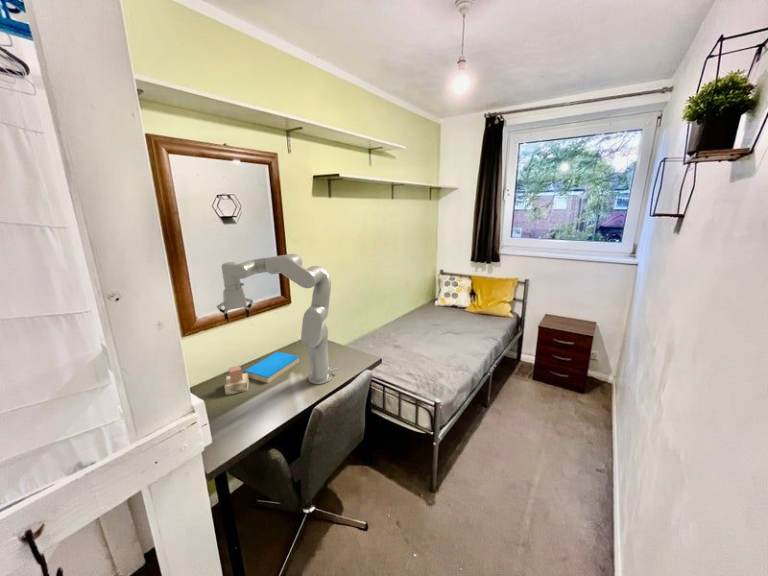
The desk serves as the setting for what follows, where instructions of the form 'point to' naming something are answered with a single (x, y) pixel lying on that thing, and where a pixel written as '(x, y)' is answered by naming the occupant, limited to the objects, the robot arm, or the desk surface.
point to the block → (235, 373)
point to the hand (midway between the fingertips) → (237, 318)
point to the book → (272, 366)
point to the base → (236, 385)
